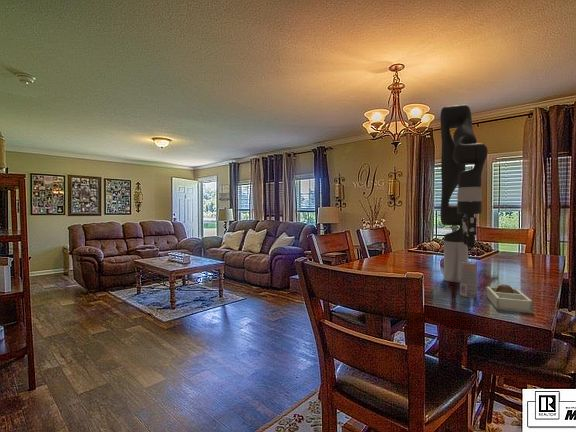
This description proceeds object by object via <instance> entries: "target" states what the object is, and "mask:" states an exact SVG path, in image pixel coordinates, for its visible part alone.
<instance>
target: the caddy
mask: <svg viewBox="0 0 576 432" xmlns="http://www.w3.org/2000/svg"><path fill="white" fill-rule="evenodd" d="M497 287H498V286H497ZM497 287H495V286H486V297H487V299H488V300H489V301H490V302H491V304H492V305H493V306H494V307H495V309H496V310H498V311H499V310H500V311H507V312H508V311H509V312H515V313H527V314H533V313H534V301H533V300H532V299H531V298H530V297H528V296H527V295H525V294H524V293H523V292H522V291H521V290H519V289H517V288H512V289H513V291H514V294H512V293H500V292H496V289H497Z"/></svg>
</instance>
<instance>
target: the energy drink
mask: <svg viewBox="0 0 576 432" xmlns="http://www.w3.org/2000/svg"><path fill="white" fill-rule="evenodd" d="M459 295H460V297H463V298H467V299H474V298H477V297H478V264H477V262H474V261H468V262H461V263H460V283H459Z"/></svg>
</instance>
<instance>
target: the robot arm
mask: <svg viewBox="0 0 576 432" xmlns="http://www.w3.org/2000/svg"><path fill="white" fill-rule="evenodd" d="M439 115H440V133H441V134H440V135H441V159H440V160H441V161H440V163H441V164H440V167H441V168H440V170H441V172H440V173H441V175H440V176H441V197H440V198H441V199H440V213H439V214H440V222H441V224H442V225H443V226H457V227H458V226H459V228H458V229H455V231H452V232H449V233H445V234H444V236H443V280H444V281H446V282H450V283H451V282H452V283H459V284H460V263H461V262H469V248H474V247H475V246H476V245H475V243H476V241H475V240H476V239H475V237H476V236H477V234H478V233H477V217H475V215H481V214H482V210H483V208H482V207H483V206H482V205H483V204H482V203H483V195H482V172H483V168H484V165H485V162H486V161H487V156H488V152H489V151H488V148H487V146H486V144H485V143H482V142H478V141H477V138H476V135H475V133H474V128H473V118H472V112H471V109H470V106H469V105H468V104H456V105H448V106H444V107H442V108H441V110H440V114H439ZM455 128H456V129H455ZM450 129H455V130H454V133H453V137H452V135H451V134H452V133H451V130H450ZM466 165H473V167H472V168H470V169H467V170H466ZM457 187H458V188H457ZM456 188H457V194H456V195H457V197H456V200H457V202H456V203H457V204H456V203H455V204H454V203H453V204H451V203H450V200H451V197H452V195H453V193H454V192H455V190H456Z"/></svg>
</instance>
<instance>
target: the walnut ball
mask: <svg viewBox="0 0 576 432" xmlns="http://www.w3.org/2000/svg"><path fill="white" fill-rule="evenodd" d="M513 289H514V288H512V286H510V285H508V284H499V285H498V286H497V289H496V292H500V293H512V294H514V291H513Z"/></svg>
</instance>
